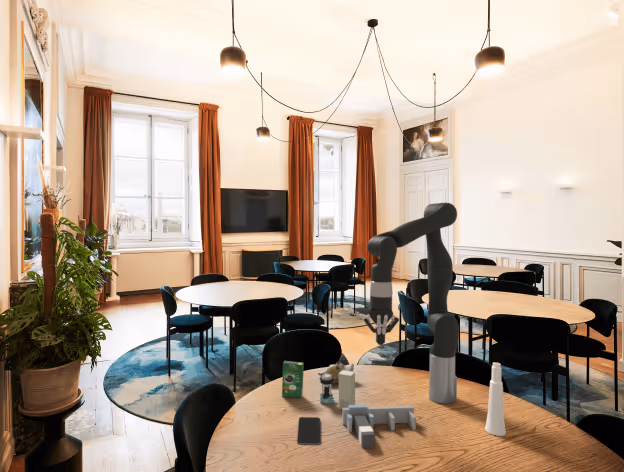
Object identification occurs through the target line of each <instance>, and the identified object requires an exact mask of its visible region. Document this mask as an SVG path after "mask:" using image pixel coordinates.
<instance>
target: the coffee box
mask: <svg viewBox="0 0 624 472" xmlns="http://www.w3.org/2000/svg"><path fill="white" fill-rule="evenodd" d="M304 365H305V364H304V362H298V361H288V360H284V361H283V363H282V385H281V387H282V388H281V397H284V398H285V397H286V398H296V399H302V398H303V392H304V370H305V369H304V368H305V366H304Z"/></svg>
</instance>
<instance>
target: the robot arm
mask: <svg viewBox="0 0 624 472" xmlns="http://www.w3.org/2000/svg"><path fill="white" fill-rule="evenodd" d="M457 219H458V211H457V208H456V206H455V205H454V204H453V203H450V202H439V203H438V202H437V203H436V202H435V203H429V204H428V205H426V206H425V208H424V211H423V217H421V218H416V219H413V220H411V221H407V222H405V223H402V224H401V225H399V226H397V227H395V228H393V229H391V230H389V231H386V232H382V233H378V234H377V235H374V236H372V238H370V239H369V241H368V243H367V246H366V249H367V252H368V253H369V254H370V255H371V256H374V257H377V258H378V257H379V258H378V261H377V263H374V264H372V266H371V269H370V270H371V271H370V272H371V273H370V286H369V287H370V291H369V311H368V312H367V313H368V314H367V315H365V316H363V317H362V321H364V322H363V323H365V325H366V326H367V327H368V329H369V330H370V331H371V332H372V333H373V334H375V342H376V344H377V345H378V346H383V345H384V344H385V343H386V334H388V333H391V332H392V330H393V329H394V328H395V326H396V325H397V324H398V322H399V321H400V318H399V317H397V316H396V315H395V314H394V312H393V267H394V264H395V260H396V257H397V253H398V248H399V249H400V248H403V247H405V246H407V245H408V244H409V245H410V243H413V242H414V241H416V240H418V239H419V238H422V237H423V236H425V239H426V242H425V243H426V255H427V256H426V257H427V258H426V259H427V267H426V268H427V286H428V287H427V288H428V289H427V290H428V309H427V317H426V318H427V320H426V321H427V322H426V323H427V326H428V328H429V330H430V331H431V332H432V333H433V335H434V336H433V337H434V338H433V343H432V344H431V345H430V346H429V370H428V371H429V374H428V375H429V377H428V378H429V379H428V384H429V385H428V387H429V388H428V398H429V399H430V400H431V401H433V402H434V403H438V404H446V405H447V404H448V405H449V404H452V403H455V402H457V399H458V398H457V394H458V391H457V390H458V387H457V386H458V377H457V375H456V352H457V349H458V345H459V344H458V343H459V323H458V320H457V319H456V317H455V316H453V315H451V314H450V313H449V310H448V295H449V292H450V288H451V286H452V282H453V278H454V277H453V275H454V273H453V272H454V271H453V269H454V268H453V267H454V266H453V260H452V257H451V254H450V252H449V251H448V250H447V248H446V246H445V244H444V242H443V239H442V234H441V233H442V232H441V229H444V228H446V227H449V226H452V225H453V224H454V223H455V222H456V220H457ZM371 320H372V322H373V323H374V326H373V325H372V322H371Z"/></svg>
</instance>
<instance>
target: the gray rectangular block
mask: <svg viewBox="0 0 624 472" xmlns="http://www.w3.org/2000/svg"><path fill="white" fill-rule="evenodd" d="M353 429H354V432H355V435H356V436H357V439H358V441H359V443H360V446H361V448H362V449H375V436H376V435H375V431H374V429H373V430H372V428H371V426H370V424H369V422H368V420H367V419H366V417H365V415H354V425H353Z"/></svg>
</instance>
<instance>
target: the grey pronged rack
mask: <svg viewBox="0 0 624 472" xmlns="http://www.w3.org/2000/svg"><path fill="white" fill-rule="evenodd" d="M341 410H342V417H341V418H342V419H341V420H342V421H341V423H342V425H343V426H346V429H347V432H348V433H353V426H354V415H365V417H366V419H367V420H368V422H369V424H370V426H371V428H372V430H373V431H374V425H380V424H381V425H382V424H383V425H385V424H387V425H388V427H389V429H390V430H391V432H392V431H393V432H394V431H395V429H396V427H395V426H396V424H408V425H409V426H410V428H411V429H412V431H413V430H414V431H416V430H417V416H416V415H415V414H414V413H415V408H414V406H413V405H394V406H393V405H391V406H387V405H386V406H367V404H355V405H348V408H342V409H341Z"/></svg>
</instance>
